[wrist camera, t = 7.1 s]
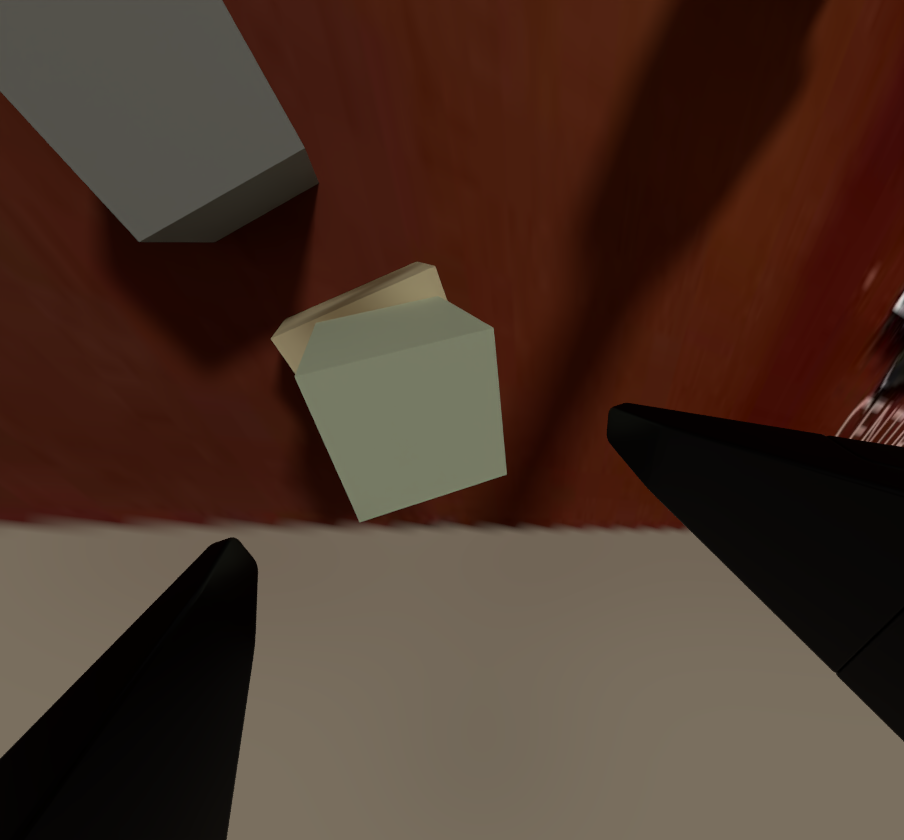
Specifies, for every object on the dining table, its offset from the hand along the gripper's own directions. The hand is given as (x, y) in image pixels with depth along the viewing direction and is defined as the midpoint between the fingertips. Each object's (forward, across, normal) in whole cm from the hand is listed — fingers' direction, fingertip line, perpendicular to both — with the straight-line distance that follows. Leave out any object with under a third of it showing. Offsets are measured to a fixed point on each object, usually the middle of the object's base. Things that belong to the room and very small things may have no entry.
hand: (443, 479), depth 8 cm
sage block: (+8, 0, 0) cm, 8 cm away
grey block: (+12, +4, -9) cm, 15 cm away
